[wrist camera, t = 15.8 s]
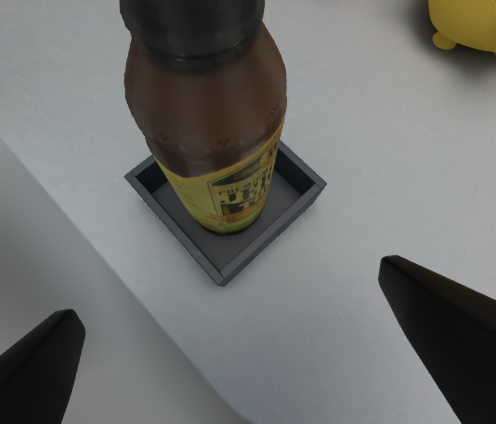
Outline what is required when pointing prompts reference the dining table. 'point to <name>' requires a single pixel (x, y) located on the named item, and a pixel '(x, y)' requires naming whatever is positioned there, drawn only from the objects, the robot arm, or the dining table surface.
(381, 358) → the dining table surface
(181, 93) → the sauce bottle
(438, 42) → the teapot
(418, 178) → the dining table surface
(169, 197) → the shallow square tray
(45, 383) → the robot arm
